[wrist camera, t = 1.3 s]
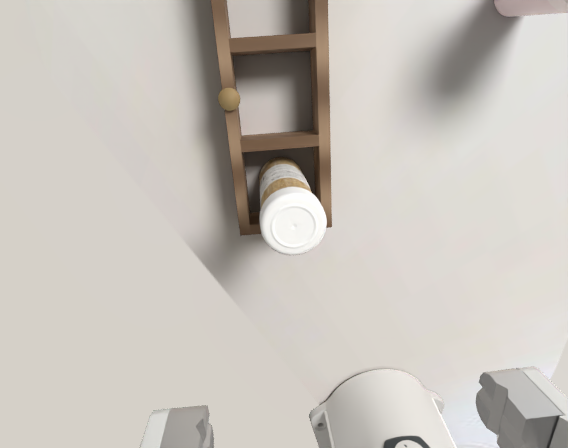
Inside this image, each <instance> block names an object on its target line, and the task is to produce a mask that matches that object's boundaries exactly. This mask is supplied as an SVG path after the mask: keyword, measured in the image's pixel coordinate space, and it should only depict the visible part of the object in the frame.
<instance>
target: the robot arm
mask: <svg viewBox="0 0 568 448" xmlns="http://www.w3.org/2000/svg"><path fill="white" fill-rule="evenodd" d="M479 383H480V384H481V385H482V387H483V388H482V389H481V390H480V391H479V392H478V393H477V396H476V406H477V411H478V413H479V416H480V418H481V420H482V421H483V423H484V425H485V426H486V428H487V429H489V430H491V431H492V432H494V433H495V434H497V444H498V445H499V447H500V448H568V398H567V397H566V396H565V395H564V394H563V393H562V392H561V391H560V390H559V389H558V388H557V387H556V386H555V385H554V384H553V383H552V382H551V381H550V380H549V379H548V378H547V377H546V376H545V375H544V374H543V373H542V372H541V371H540V370H539V369H537V368H536V367H534V366H533V367H524V368H517V369H506V370H498V371H491V372H484V373H483V374H482V375H481V376H480V380H479ZM443 408H444V402H443V400H442V398H441V396H440V395H438V394H436V393H434V392H431V391H429V390H427V389H426V388H425V387H424V386H423V385H422V384H421V383H420V381H419V380H418V379H416V378H415V377H414V376H412V375H410V374H408V373H406V372H403V371H399V370H393V369H378V370H372V371H368V372H364V373H361V374H359V375H356V376H354V377H352V378H350V379H349V380H347V381H346V382H344V383H343V384H341V385H340V386H339V387H338V388H337V389H336V390H335V391H334V392H333V394H332V395H331V396H330V397H329V399H328V400H327V401H326V402H324V403H323V404H321V405H319V406H318V407H316V408H315V409H313V410H312V411H311V412H310V414H309V418H310V421H311V424H312V427H313V430H314V433H315V436H316V439H317V442H318V445H319V448H456V446H455V443H454V441H453V439H452V437H451V435H450V433H449V431H448V429H447V426H446V424H445V422H444V420H443V418H442V416H441V413H442V411H443ZM208 421H209V410H208V406H206V405H205V406H194V407H182V408H172V409H163V410H154V411H153V412H152V414H151V415H150V417H149V421H148V423H147V426H146V430H145V433H144V436H143V439H142V442H141V445H140V448H214V438H213V430H212V425H211V424H209V423H208Z"/></svg>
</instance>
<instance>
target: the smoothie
mask: <svg viewBox="0 0 568 448" xmlns="http://www.w3.org/2000/svg"><path fill="white" fill-rule="evenodd" d="M494 4H495V7H496V9H497V11H498V12H499V13H500V14H501V15H503V16H506V17H514V16H528V15H542V14H556V13H568V0H494Z"/></svg>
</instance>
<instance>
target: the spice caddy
mask: <svg viewBox="0 0 568 448" xmlns="http://www.w3.org/2000/svg"><path fill="white" fill-rule="evenodd" d="M211 5H212V13H213V21H214V29H215V37H216V45H217V53H218V61H219V69H220V77H221V85H222V90H221V92H220V93H219V96H218V102H219V104H220V106H221V107H222V108H223V109H225V117H226V125H227V133H228V141H229V149H230V157H231V165H232V172H233V180H234V188H235V196H236V204H237V212H238V220H239V228H240V236H241V235H252V234H262V233H261V229H260V212H254V213H250V207H249V198H248V189H247V180H246V171H245V162H244V153H243V152H253V151H265V150H277V149H289V148H302V147H314V175H315V196H316V197H317V199H318V200H319V202H320V203H321V205H322V207H323V209H324V212H325V214H326V219H327V226H326V228H328V227H332V214H331V157H330V99H329V41H328V0H308V5H309V33H305V34H289V35H274V36H259V37H244V38H231V36H230V27H229V18H228V9H227V0H211ZM299 51H310V62H311V90H312V118H313V130H307V131H295V132H282V133H270V134H257V135H244V136H242V135H241V126H240V117H239V108H238V106H239V103H240V96H239V94H238V92H237V90H236V81H235V72H234V63H233V56H241V55H256V54H270V53H285V52H299Z"/></svg>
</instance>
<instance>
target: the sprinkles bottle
mask: <svg viewBox="0 0 568 448" xmlns="http://www.w3.org/2000/svg"><path fill="white" fill-rule="evenodd" d="M259 184H260V205H261V211H260V229H261V233H262V236H263V238H264V240H265V242H266V243H267V244H268V245H269V246H270V247H271V248H272V249H273V250H275V251H277V252H279V253H282V254H285V255H300V254H303V253H306V252H308V251H310V250H312V249H313V248H314V247H316V246H317V245H318V244H319V243H320V241H321V240H322V238H323V236H324V234H325V231H326V226H327V219H326V214H325V212H324V209H323V207H322V205H321V203H320V202H319V200H318V199H317V197H316V196H315V195H314V194H312V191H311V189H310V187H309V184H308V182H307V181H306V179H305V177H304V175H303V174H302V171H301V169H300V167H299V166H298V165H297V164H296V163H295V162H294V161H293V160H291V159H288V158H285V157H276V158H274V159H271V160H269V161H268V162H267V163H266V164H265V165H264V166H263V167H262V169H261V171H260V175H259Z"/></svg>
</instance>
